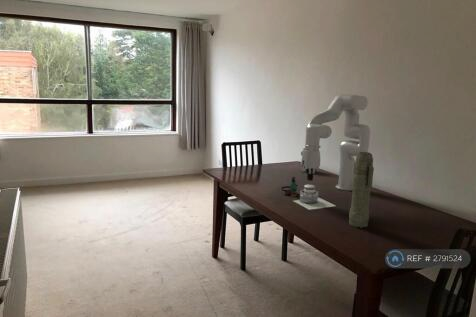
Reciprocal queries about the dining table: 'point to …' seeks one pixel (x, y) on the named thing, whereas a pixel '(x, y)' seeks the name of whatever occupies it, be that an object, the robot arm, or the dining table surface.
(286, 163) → the dining table surface
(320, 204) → the mat
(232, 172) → the dining table surface
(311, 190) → the cap
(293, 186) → the binoculars
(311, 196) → the grey ring
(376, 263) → the dining table surface
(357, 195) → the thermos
